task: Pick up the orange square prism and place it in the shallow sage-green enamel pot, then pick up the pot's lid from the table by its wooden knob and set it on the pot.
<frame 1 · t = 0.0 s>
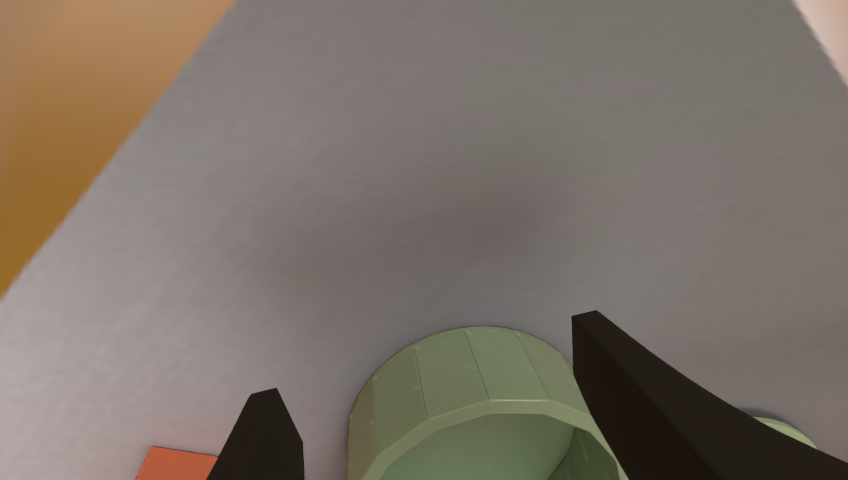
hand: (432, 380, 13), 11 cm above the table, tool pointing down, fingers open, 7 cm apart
pot: (469, 430, 27), on the table
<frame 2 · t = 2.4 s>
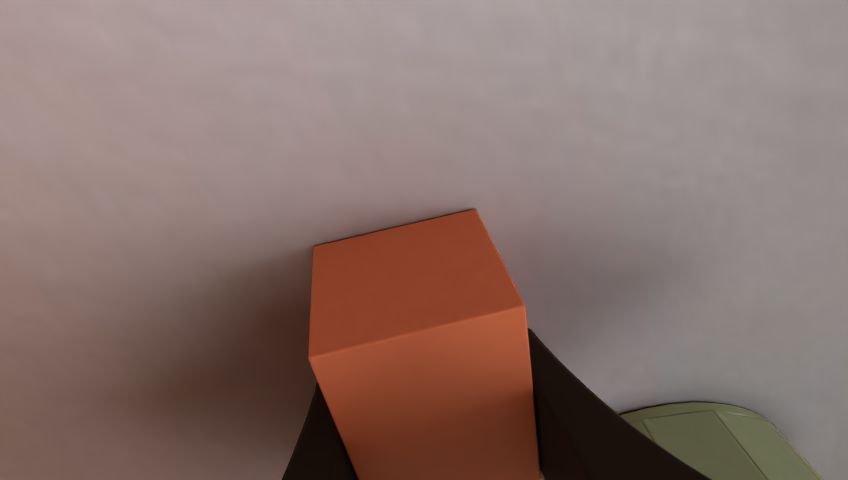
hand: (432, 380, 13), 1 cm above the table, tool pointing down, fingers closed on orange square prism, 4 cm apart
orange square prism: (422, 341, 14), on the table, touching gripper
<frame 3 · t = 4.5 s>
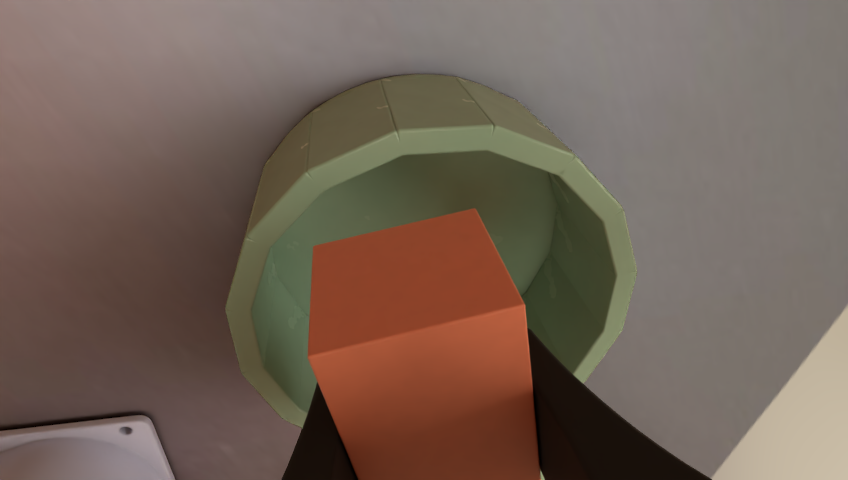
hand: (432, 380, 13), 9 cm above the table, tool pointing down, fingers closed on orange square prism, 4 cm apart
pot: (416, 233, 21), on the table
orange square prism: (422, 340, 14), point 7 cm above the table, touching gripper
when the fingers open (2 cm above the table, at t = 6.6 s): orange square prism stays where it is, resting on pot.
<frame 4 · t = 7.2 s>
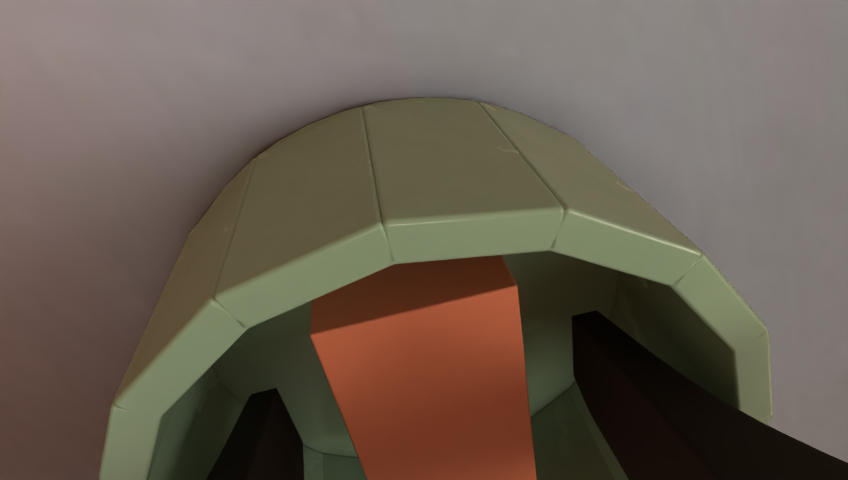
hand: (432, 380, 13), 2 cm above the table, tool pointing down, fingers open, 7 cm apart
pot: (419, 318, 15), on the table
orange square prism: (420, 327, 14), resting on pot
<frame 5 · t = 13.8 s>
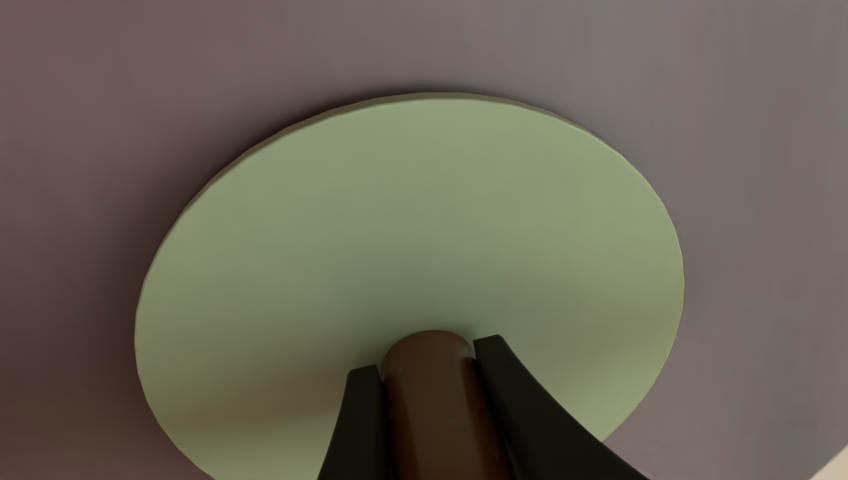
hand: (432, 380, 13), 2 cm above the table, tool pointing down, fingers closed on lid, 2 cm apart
lid: (425, 351, 13), point 1 cm above the table, touching gripper
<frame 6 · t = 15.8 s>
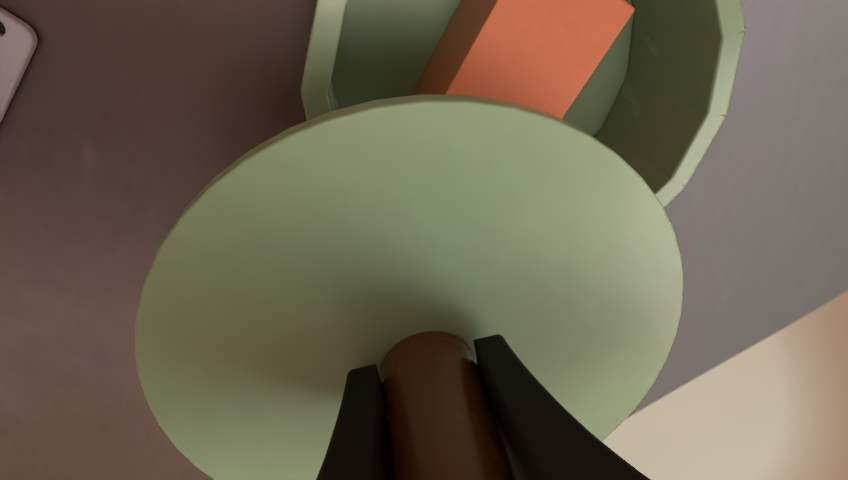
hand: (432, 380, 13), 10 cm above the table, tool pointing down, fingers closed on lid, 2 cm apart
lid: (424, 352, 13), point 9 cm above the table, touching gripper
pot: (482, 61, 19), on the table
orange square prism: (485, 63, 19), resting on pot
when the fingers open (6 cm above the table, at t = 17.8 s): lid stays where it is, resting on pot.
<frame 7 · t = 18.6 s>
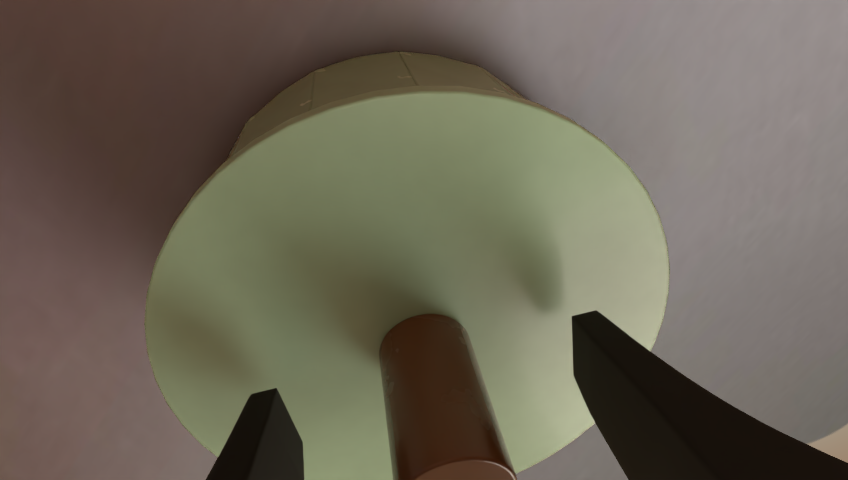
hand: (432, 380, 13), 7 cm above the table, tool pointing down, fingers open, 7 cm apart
lid: (421, 335, 14), point 5 cm above the table, touching pot
pot: (399, 233, 19), on the table
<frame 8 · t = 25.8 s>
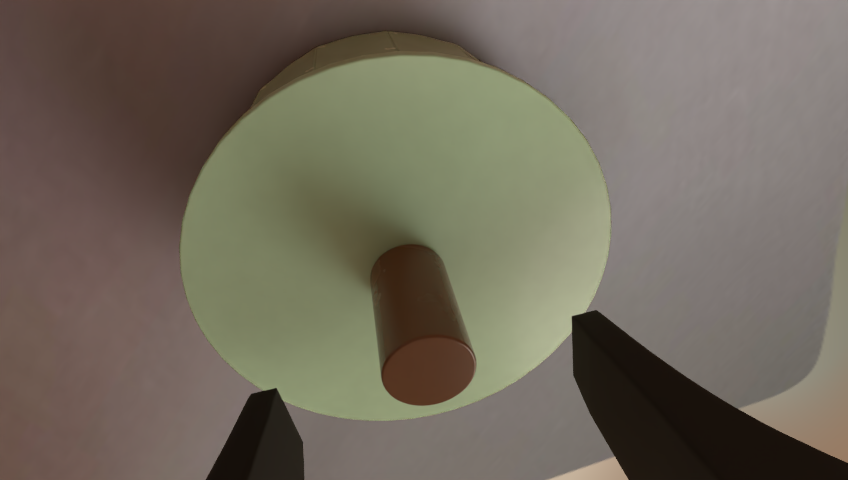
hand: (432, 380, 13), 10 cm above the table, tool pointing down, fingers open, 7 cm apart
lid: (406, 266, 17), point 5 cm above the table, touching pot
pot: (390, 192, 21), on the table
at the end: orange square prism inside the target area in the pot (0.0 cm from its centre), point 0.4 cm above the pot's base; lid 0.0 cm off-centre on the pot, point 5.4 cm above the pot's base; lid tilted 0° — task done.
